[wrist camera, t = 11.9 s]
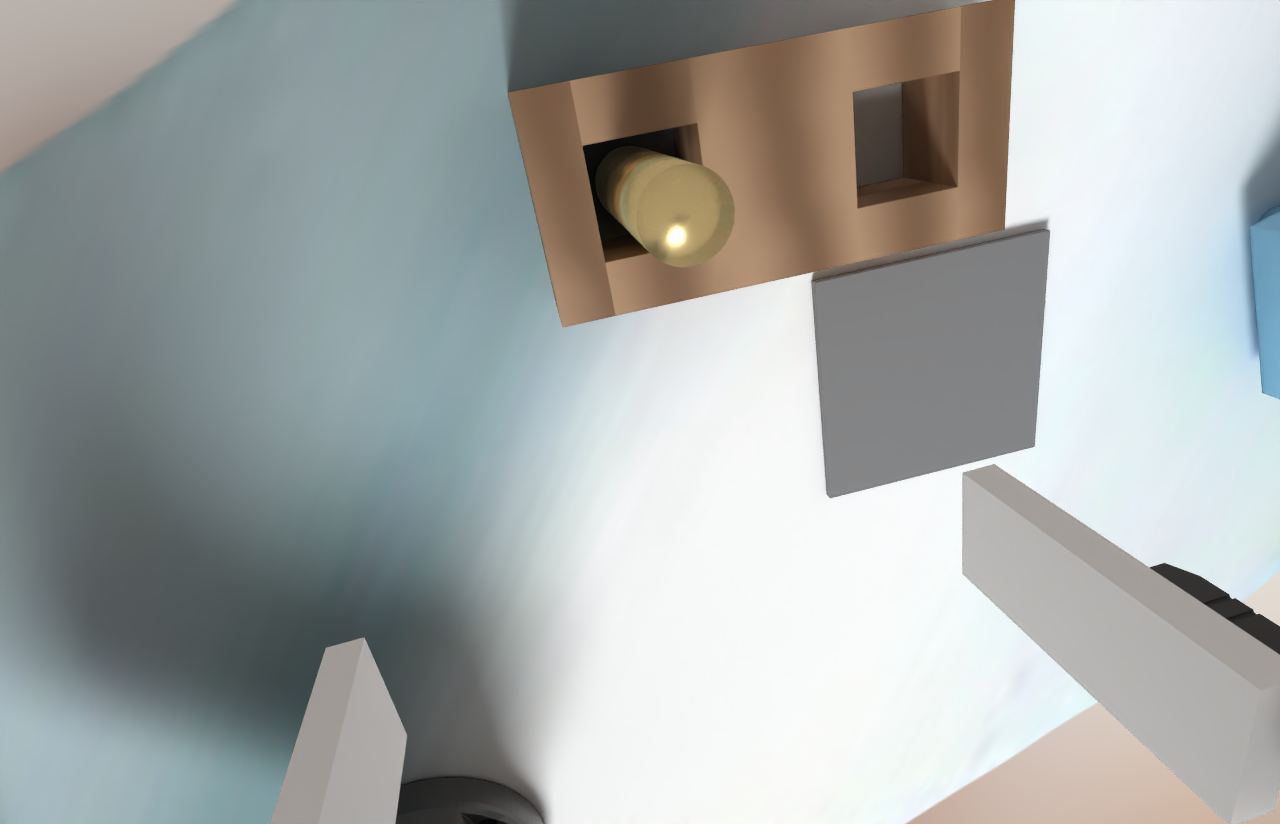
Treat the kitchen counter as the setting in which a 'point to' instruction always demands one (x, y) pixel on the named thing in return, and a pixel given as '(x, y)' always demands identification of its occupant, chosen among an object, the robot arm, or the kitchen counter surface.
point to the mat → (930, 361)
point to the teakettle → (1267, 297)
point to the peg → (667, 204)
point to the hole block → (780, 154)
